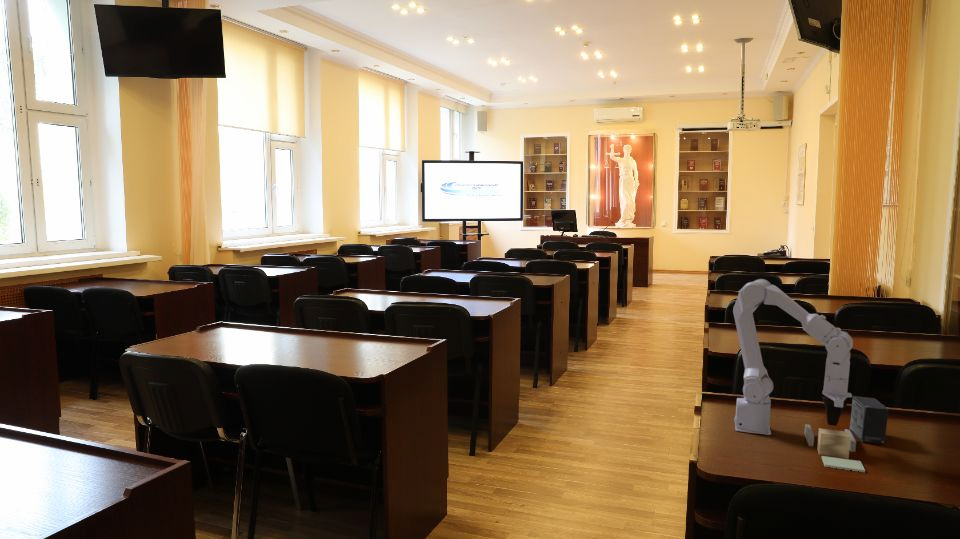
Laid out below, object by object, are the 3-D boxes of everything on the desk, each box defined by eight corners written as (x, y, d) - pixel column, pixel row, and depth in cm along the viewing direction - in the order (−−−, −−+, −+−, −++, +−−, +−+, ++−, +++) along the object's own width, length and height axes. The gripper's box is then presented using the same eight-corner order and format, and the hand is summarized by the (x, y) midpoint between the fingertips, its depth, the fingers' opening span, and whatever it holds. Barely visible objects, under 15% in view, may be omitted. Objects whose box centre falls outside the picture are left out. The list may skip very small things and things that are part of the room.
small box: (886, 445, 184) (890, 408, 183) (861, 443, 185) (864, 406, 184) (872, 431, 194) (875, 397, 193) (848, 429, 196) (851, 395, 194)
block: (818, 454, 177) (820, 433, 176) (817, 449, 180) (818, 428, 180) (848, 458, 174) (850, 436, 174) (846, 453, 178) (847, 431, 177)
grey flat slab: (808, 445, 182) (809, 436, 182) (804, 433, 192) (805, 424, 191) (855, 452, 179) (856, 442, 178) (848, 439, 188) (849, 429, 188)
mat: (824, 466, 169) (825, 464, 169) (821, 458, 174) (821, 455, 174) (864, 472, 166) (865, 470, 166) (860, 463, 171) (860, 461, 171)
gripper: (858, 385, 172) (853, 435, 174) (848, 371, 185) (843, 418, 187) (828, 382, 174) (823, 431, 176) (820, 368, 188) (816, 414, 189)
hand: (832, 424), depth 182 cm, fingers closed
